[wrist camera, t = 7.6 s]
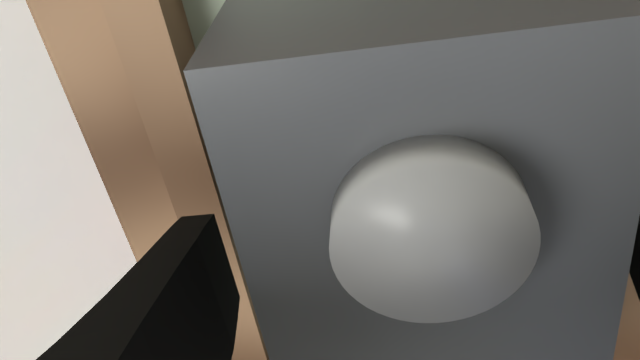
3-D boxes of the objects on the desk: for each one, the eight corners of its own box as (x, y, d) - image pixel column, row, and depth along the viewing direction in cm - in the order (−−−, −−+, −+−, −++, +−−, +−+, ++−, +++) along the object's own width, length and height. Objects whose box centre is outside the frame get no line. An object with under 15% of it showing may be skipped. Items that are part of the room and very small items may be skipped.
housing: (524, 298, 15) (598, 535, 10) (326, 311, 16) (311, 539, 11) (545, -88, 10) (706, 32, 5) (252, -46, 11) (168, 94, 6)
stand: (665, 298, 17) (719, 392, 15) (201, 326, 19) (176, 415, 16) (811, -321, 10) (982, -358, 7) (14, -174, 11) (-90, -159, 9)
